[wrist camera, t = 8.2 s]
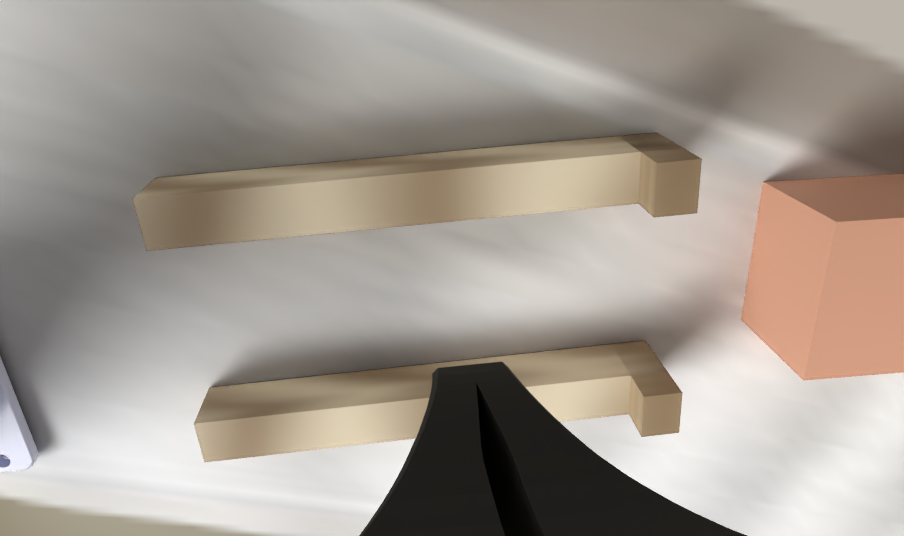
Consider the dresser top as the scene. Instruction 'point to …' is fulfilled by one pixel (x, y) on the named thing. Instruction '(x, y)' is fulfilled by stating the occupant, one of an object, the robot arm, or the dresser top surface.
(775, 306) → the block
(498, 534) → the robot arm
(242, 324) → the dresser top surface
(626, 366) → the chute
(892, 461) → the dresser top surface
